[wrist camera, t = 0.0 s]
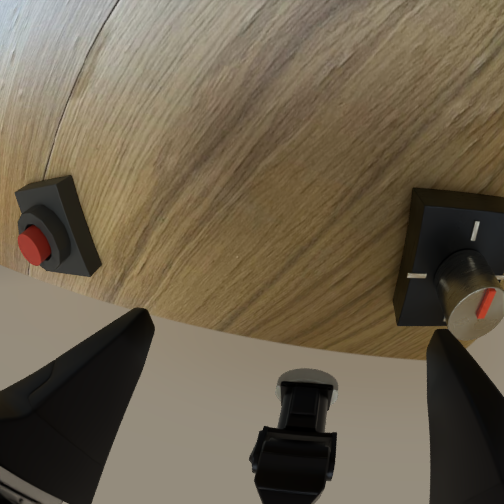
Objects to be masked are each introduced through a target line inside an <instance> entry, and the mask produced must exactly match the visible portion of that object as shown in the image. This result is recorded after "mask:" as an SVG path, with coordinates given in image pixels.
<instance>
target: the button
mask: <svg viewBox="0 0 504 504" xmlns="http://www.w3.org/2000/svg"><path fill="white" fill-rule="evenodd" d="M18 244H19V248H20V250H21V252H22V254H23V255H24V257H25V258H26V259H27V260H28V261H29V262H30V263H31V264H33V265H35V266H38V265H40V264H41V263H42V262H43V261H44V260H45V259H46V258H47V257H48V256H50V254H51V247H50V245H49V243H48V240H47V238H46V237H45V235H44V234H43V233H42V231H41V230H40V229H39V228H38V227H36V226H35V225H32V226H30V227H29V228H27V229H26V230H25V231H24V232H22V233H21V234H20V235H19V236H18Z"/></svg>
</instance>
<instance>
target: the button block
mask: <svg viewBox="0 0 504 504" xmlns="http://www.w3.org/2000/svg"><path fill="white" fill-rule="evenodd" d="M15 196H16V199H17V202H18V204H19V207H20V210H21V213H22V214H21V217H20V219H19V221H18V229H19V235H20V234H21V233H22V232H24V231H25V230H26V229H27V228H29V227H30V226H32V225H35V226H36V227H38V228H39V229H40V230H41V231H42V233H43V234H44V235H45V237H46V238H47V240H48V243H49V245H50V247H51V254H50V256H48V257H47V258H46V259H45V260H44V261H43V262H42V263H41V264H40V266H41V267H42V268H44V269H45V270H46V271H51V272H58V273H65V274H72V275H80V276H87V277H91V276H92V274H93V273H94V272H95V271H96V270H97V269H98V268H99V267H100V266H101V265H102V264H101V262H100V259H99V256H98V254H97V251H96V249H95V246H94V243H93V241H92V238H91V235H90V232H89V230H88V227H87V224H86V221H85V218H84V215H83V212H82V209H81V206H80V203H79V200H78V197H77V193H76V190H75V187H74V183H73V180H72V176H71V175H69V176H64V177H59V178H54V179H49V180H45V181H40V182H36V183H31V184H28V185H26V186H24V187H23V188H21V189H19V190H18V191H16V192H15Z"/></svg>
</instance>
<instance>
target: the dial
mask: <svg viewBox="0 0 504 504" xmlns="http://www.w3.org/2000/svg"><path fill="white" fill-rule="evenodd" d="M434 287H435V290H436V293H437V296H438V299H439V302H440V305H441V308H442V311H443V314H444V317H445V320H446V324H447V327H448V330H450V331H451V333H452V334H453V335H454V336H455V337H456V338H457V339H459V340H472V339H476V338H479V337H481V336H483V335H485V334H487V333H488V332H490V331H491V330H492V329H494V328H495V327H496V326H497V325H498V323H499V322H500V321H501V320H502V318H503V317H504V290H503V288H502V286H501V285H500V283H499V281H498V279H497V278H496V276H495V274H494V272H493V271H492V269H491V267H490V266H489V264H488V263H487V261H486V259H485V258H484V256H483V255H482V254H481V253H479V252H477V251H475V250H461V251H458V252H456V253H454V254H452V255H450V256H449V257H448V258H447V259H445V260H444V261H443V262H442V264H441V265H440V266H439V268H438V270H437V272H436V275H435V278H434Z"/></svg>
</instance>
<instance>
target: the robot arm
mask: <svg viewBox="0 0 504 504" xmlns="http://www.w3.org/2000/svg"><path fill="white" fill-rule="evenodd" d="M154 331H155V327H154V324H153V321H152V319H151V317H150V314H149V312H148V310H147V309H144V308H138V307H137V308H134V309H132V310H130V311H129V312H127V313H126V314H124V315H123V316H121V317H120V318H118V319H116V320H115V321H113V322H112V323H110V324H109V325H107V326H106V327H104V328H102V329H101V330H99V331H98V332H96V333H95V334H93V335H92V336H90V337H89V338H87V339H86V340H84V341H83V342H81V343H79V344H78V345H76V346H75V347H73V348H72V349H70V350H69V351H67V352H65V353H64V354H62V355H61V356H59V357H58V358H56V360H54V361H52V362H50V363H49V364H47V365H46V366H44V367H43V368H41V369H39V370H38V371H36V372H34V373H33V374H31V375H29V376H28V377H26V378H24V379H22V380H20V381H18V382H17V383H15V384H13V385H11V386H9V387H7V388H6V389H4V390H2V391H0V504H62V502H63V501H64V502H67V503H69V504H91V503H92V500H93V497H94V495H95V492H96V489H97V486H98V483H99V480H100V477H101V474H102V472H103V469H104V466H105V463H106V460H107V457H108V455H109V452H110V450H111V447H112V444H113V442H114V439H115V437H116V434H117V431H118V429H119V426H120V424H121V421H122V419H123V416H124V413H125V411H126V408H127V406H128V404H129V401H130V399H131V396H132V394H133V391H134V389H135V387H136V384H137V382H138V380H139V377H140V375H141V372H142V370H143V367H144V364H145V361H146V358H147V354H148V351H149V348H150V345H151V341H152V338H153V335H154ZM426 356H427V404H428V417H429V431H430V459H431V460H430V463H431V466H430V469H431V472H430V475H431V476H430V503H429V504H504V397H503V395H502V394H501V393H500V391H499V390H498V389H497V387H496V386H495V385H494V383H493V382H492V381H491V380H490V378H489V377H488V376H487V375H486V373H485V372H484V371H483V370H482V368H481V367H480V366H479V365H478V363H477V362H476V361H475V360H474V359H473V357H472V356H471V355H470V354H469V352H468V351H467V350H466V349H465V348H464V347H463V345H462V344H461V343H460V342H459V341H458V339H457V338H456V337H455V336H454V335H453V334H452V333H451V331H450V330H448V329H437V330H435V332H434V334H433V336H432V338H431V340H430V343H429V345H428V347H427V353H426ZM280 389H281V406H282V408H281V413H280V418H279V423H278V428H270V427H268V426H264V428H263V430H262V431H259V435H258V440H257V442H256V445H255V447H254V449H253V451H252V453H251V455H250V457H249V461H250V462H251V463H252V472H253V473H255V474H256V475H255V479H254V482H255V485H256V488H257V491H258V493H259V496H260V499H261V501H262V504H314V503H315V502H316V501H317V500H318V499H319V498H320V496H321V494H322V492H323V490H324V488H325V484H326V481H331V479H332V476H333V471H334V465H335V457H336V441H337V433H336V432H333V433H324V432H325V424H326V415H327V411H328V410H329V407H330V403H331V398H332V394H333V389H334V386H333V385H331V384H315V383H302V382H290V381H282V382H281V384H280Z"/></svg>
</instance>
